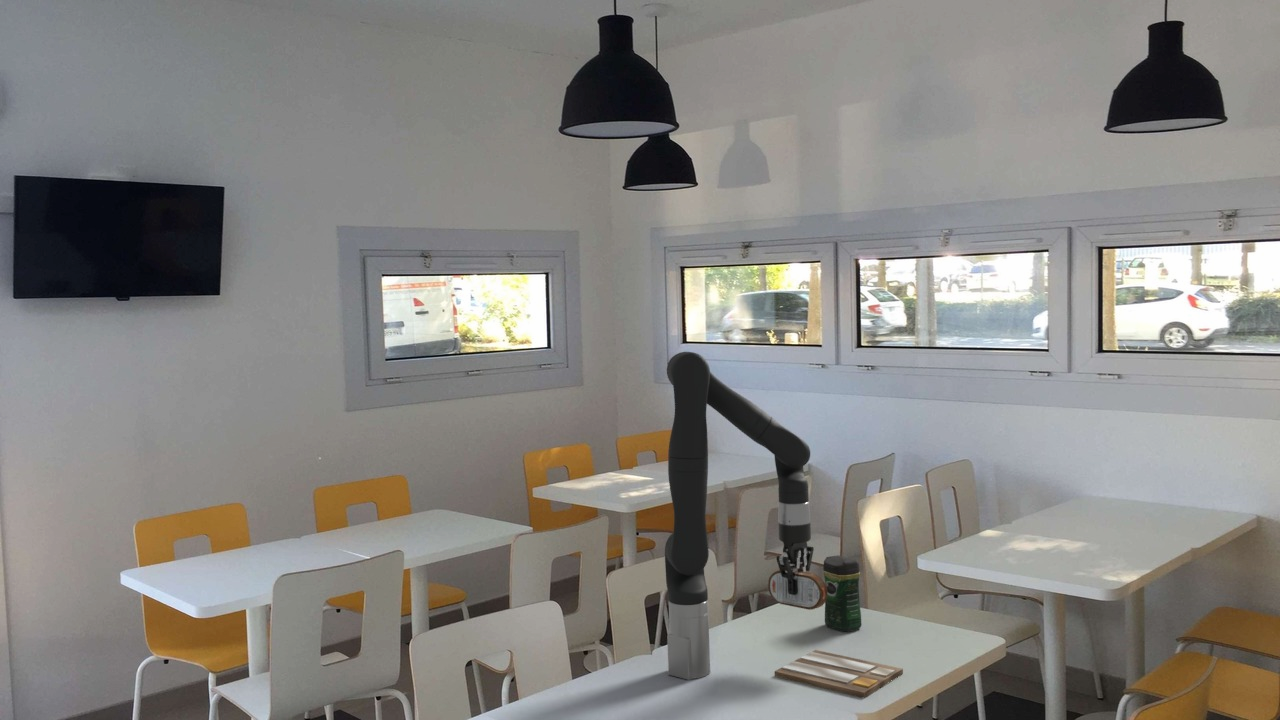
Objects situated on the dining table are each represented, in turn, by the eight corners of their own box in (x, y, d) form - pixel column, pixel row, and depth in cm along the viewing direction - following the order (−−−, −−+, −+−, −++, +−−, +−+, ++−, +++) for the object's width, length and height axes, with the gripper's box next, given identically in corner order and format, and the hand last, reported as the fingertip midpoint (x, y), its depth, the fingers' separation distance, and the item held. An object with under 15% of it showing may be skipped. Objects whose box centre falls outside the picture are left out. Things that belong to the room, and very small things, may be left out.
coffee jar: (867, 629, 268) (865, 558, 267) (842, 634, 264) (840, 563, 263) (843, 619, 276) (841, 551, 275) (819, 624, 273) (817, 555, 272)
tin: (827, 610, 239) (828, 574, 239) (821, 613, 237) (822, 576, 237) (772, 600, 249) (773, 565, 249) (765, 602, 246) (766, 567, 246)
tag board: (864, 698, 221) (864, 690, 221) (774, 676, 236) (774, 669, 236) (902, 673, 234) (902, 667, 234) (815, 654, 249) (815, 648, 249)
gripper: (792, 527, 234) (795, 602, 235) (822, 516, 245) (825, 588, 246) (764, 524, 239) (767, 597, 240) (795, 513, 250) (797, 583, 251)
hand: (796, 592), depth 243 cm, fingers closed on tin, 2 cm apart
